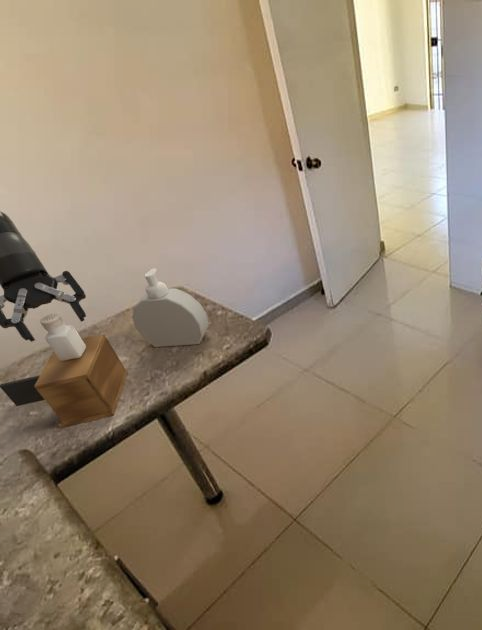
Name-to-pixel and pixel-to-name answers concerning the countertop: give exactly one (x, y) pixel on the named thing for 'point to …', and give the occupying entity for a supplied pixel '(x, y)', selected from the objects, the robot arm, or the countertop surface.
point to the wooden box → (83, 383)
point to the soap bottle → (169, 315)
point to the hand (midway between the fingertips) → (58, 329)
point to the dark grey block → (22, 391)
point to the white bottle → (62, 338)
